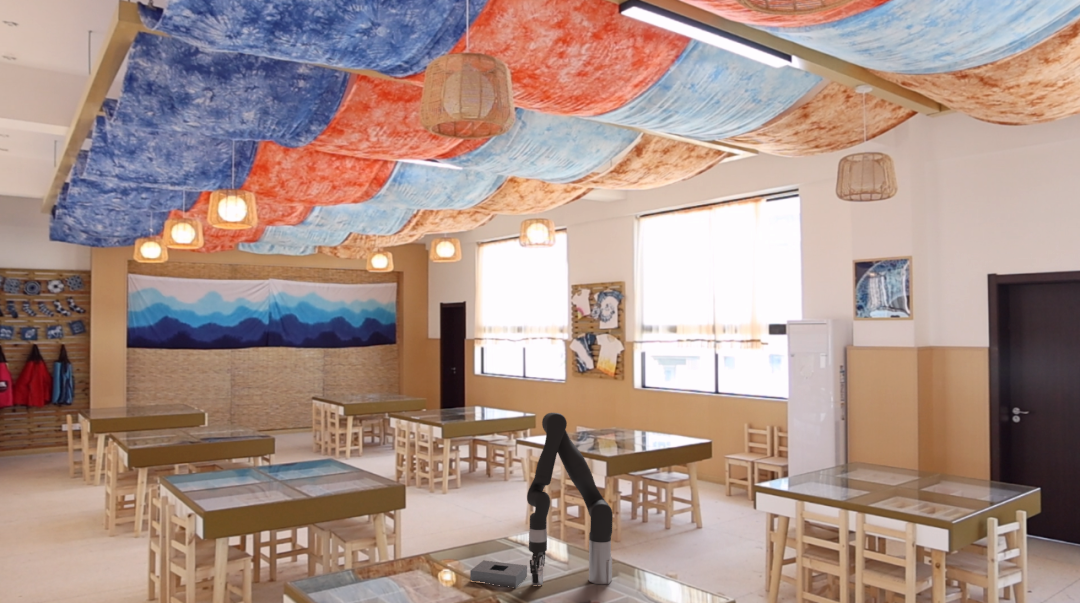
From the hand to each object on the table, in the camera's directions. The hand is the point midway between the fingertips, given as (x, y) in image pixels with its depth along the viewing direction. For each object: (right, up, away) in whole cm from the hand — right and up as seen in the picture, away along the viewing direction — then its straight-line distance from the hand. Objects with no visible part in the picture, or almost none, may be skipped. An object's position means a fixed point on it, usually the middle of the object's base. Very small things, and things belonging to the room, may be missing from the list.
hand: (537, 580), depth 308 cm
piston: (0, -2, 0) cm, 2 cm away
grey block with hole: (-16, -2, +5) cm, 17 cm away
